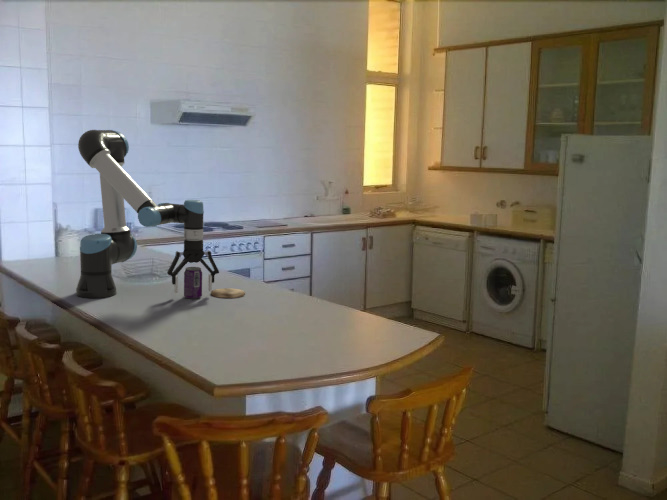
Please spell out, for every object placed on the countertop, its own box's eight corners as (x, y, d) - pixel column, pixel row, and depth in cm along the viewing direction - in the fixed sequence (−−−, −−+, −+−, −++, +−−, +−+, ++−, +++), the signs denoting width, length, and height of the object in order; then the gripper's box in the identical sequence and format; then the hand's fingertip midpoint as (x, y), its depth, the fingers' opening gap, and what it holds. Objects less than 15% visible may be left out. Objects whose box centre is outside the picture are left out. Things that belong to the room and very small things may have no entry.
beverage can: (204, 296, 281) (204, 267, 279) (198, 300, 275) (199, 270, 272) (187, 294, 282) (187, 266, 280) (181, 299, 275) (181, 269, 273)
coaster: (214, 298, 278) (214, 296, 278) (207, 290, 290) (207, 288, 290) (248, 297, 283) (248, 295, 283) (240, 289, 296) (240, 287, 296)
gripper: (162, 241, 266) (162, 295, 270) (226, 240, 276) (226, 292, 279) (160, 238, 273) (160, 290, 277) (222, 237, 282) (221, 288, 286)
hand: (193, 291), depth 278 cm, fingers open, 13 cm apart
